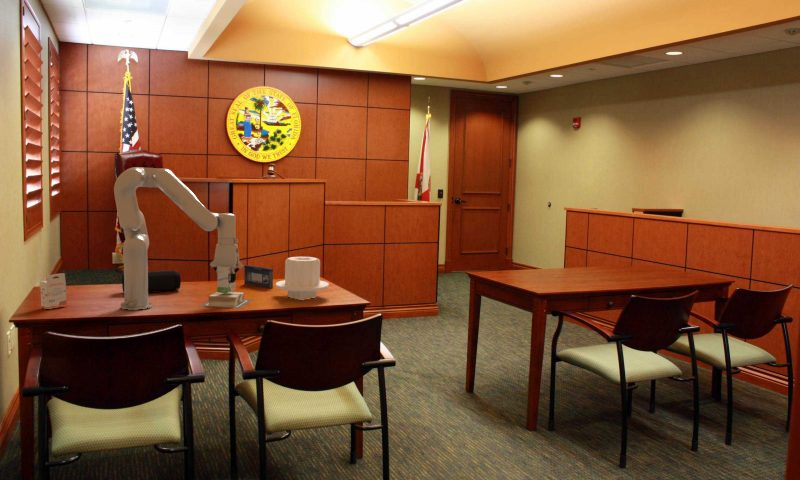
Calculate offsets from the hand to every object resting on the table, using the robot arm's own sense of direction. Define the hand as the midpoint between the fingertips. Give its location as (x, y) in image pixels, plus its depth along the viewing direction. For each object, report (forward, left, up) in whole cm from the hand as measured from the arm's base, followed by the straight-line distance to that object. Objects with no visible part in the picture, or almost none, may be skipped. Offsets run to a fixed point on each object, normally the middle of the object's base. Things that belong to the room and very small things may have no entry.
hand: (226, 281), depth 300 cm
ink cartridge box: (-23, +67, -11) cm, 72 cm away
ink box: (0, 0, -5) cm, 5 cm away
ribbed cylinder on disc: (+25, -28, -11) cm, 39 cm away
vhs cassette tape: (+48, +1, -11) cm, 49 cm away
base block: (0, 0, -10) cm, 10 cm away
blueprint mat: (0, 0, -11) cm, 11 cm away
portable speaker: (+20, +44, -11) cm, 50 cm away
